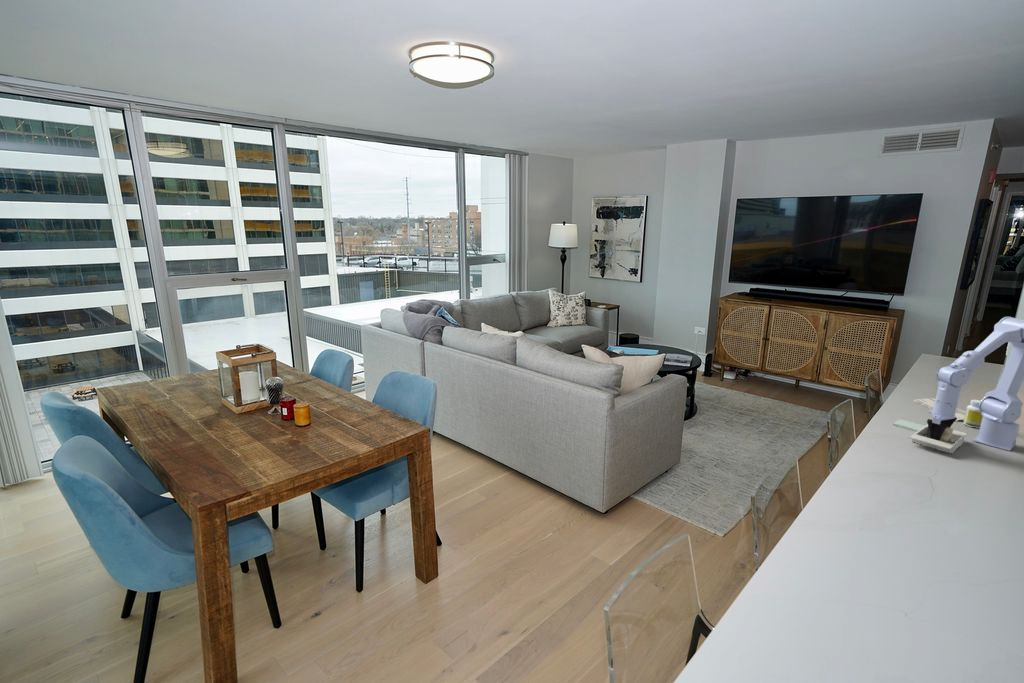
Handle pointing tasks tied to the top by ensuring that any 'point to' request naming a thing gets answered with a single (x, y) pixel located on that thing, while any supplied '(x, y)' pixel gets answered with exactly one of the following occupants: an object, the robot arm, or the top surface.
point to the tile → (908, 425)
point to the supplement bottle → (973, 414)
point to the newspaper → (931, 402)
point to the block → (943, 435)
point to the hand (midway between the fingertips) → (938, 438)
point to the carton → (943, 446)
